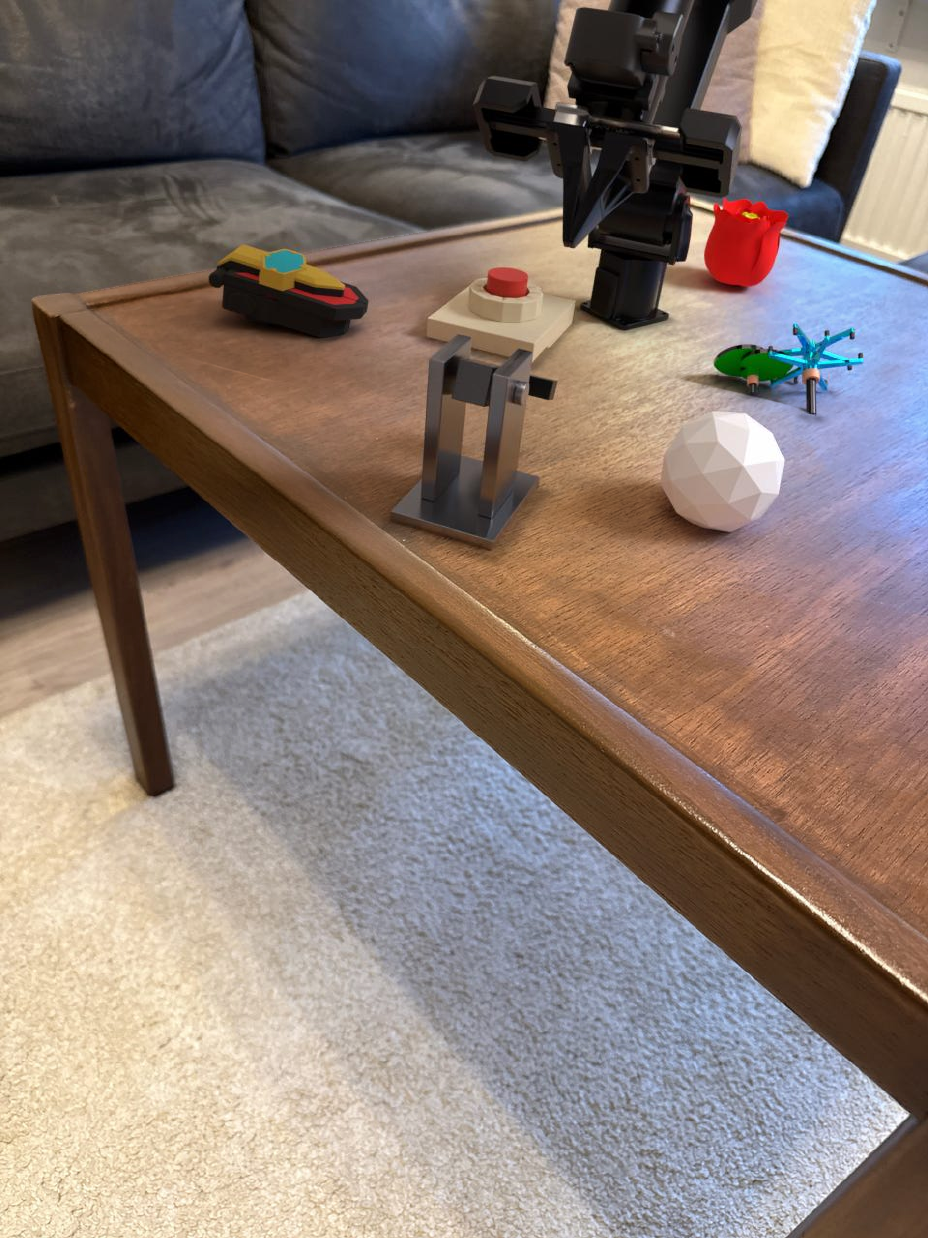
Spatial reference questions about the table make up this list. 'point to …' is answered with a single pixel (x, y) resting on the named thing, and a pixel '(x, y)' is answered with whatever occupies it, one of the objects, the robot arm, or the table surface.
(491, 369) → the press lever
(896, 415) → the table surface
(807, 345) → the stick construction toy
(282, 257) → the gadget
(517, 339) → the control box
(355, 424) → the table surface
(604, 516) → the table surface
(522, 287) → the button
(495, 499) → the grey metal stand
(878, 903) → the table surface
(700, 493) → the geometric ball
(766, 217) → the flower
